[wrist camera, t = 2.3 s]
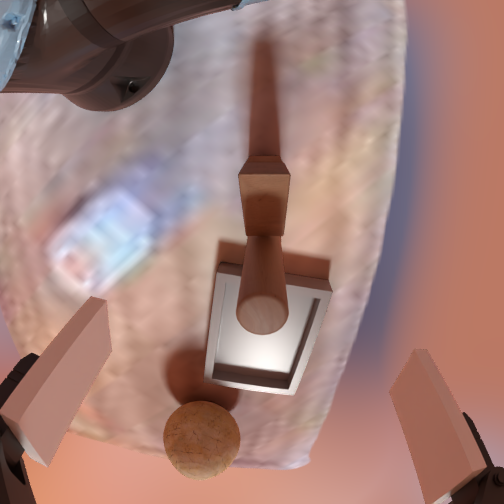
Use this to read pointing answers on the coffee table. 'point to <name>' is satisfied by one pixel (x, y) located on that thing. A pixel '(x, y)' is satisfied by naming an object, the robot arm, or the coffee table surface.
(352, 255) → the coffee table surface
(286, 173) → the brown wooden piece
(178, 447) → the fossilized egg
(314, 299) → the tray
